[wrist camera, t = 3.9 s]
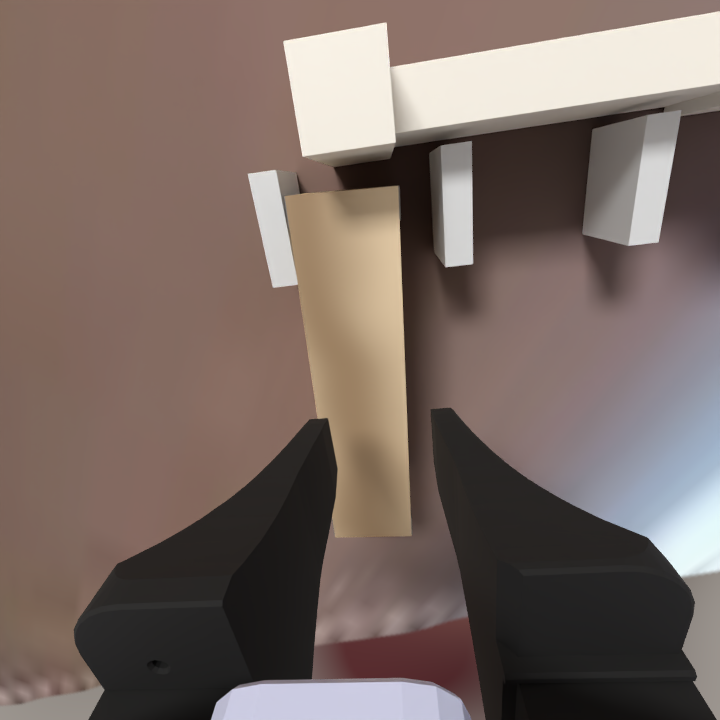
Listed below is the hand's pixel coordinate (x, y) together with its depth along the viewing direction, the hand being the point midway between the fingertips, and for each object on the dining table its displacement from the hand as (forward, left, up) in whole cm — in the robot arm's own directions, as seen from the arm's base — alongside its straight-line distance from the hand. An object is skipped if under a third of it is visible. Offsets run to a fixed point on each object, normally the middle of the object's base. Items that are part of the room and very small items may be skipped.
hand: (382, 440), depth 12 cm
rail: (+1, 0, -8) cm, 8 cm away
